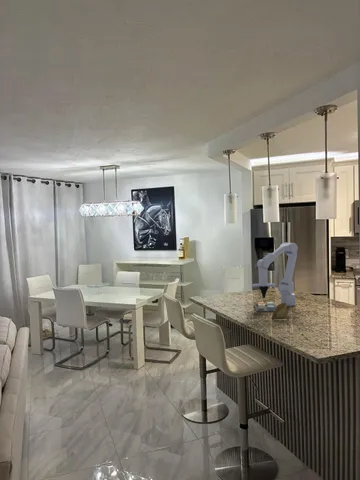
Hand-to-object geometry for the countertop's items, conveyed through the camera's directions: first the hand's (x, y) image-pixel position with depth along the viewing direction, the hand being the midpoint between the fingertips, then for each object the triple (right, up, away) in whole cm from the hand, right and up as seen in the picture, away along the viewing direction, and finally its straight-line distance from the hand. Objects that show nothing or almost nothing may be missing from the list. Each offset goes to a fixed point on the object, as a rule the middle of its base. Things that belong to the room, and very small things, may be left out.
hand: (263, 297), depth 239 cm
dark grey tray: (+1, -8, -1) cm, 9 cm away
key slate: (+4, -7, -4) cm, 9 cm away
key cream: (-2, -6, -4) cm, 7 cm away
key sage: (+5, -6, +2) cm, 7 cm away
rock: (+5, -10, -21) cm, 24 cm away
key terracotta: (-1, -6, +2) cm, 6 cm away
